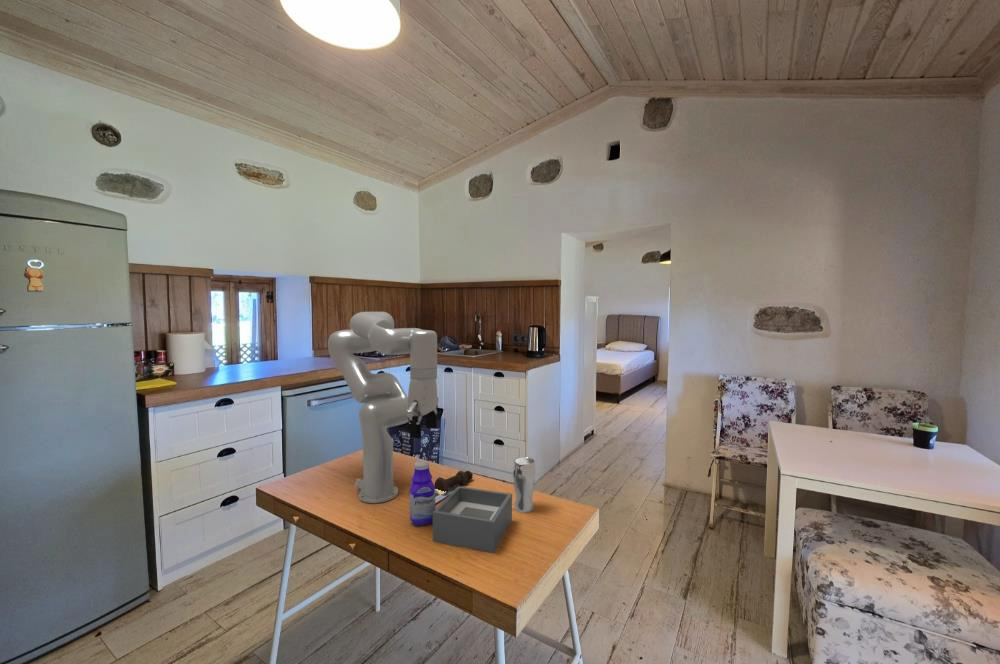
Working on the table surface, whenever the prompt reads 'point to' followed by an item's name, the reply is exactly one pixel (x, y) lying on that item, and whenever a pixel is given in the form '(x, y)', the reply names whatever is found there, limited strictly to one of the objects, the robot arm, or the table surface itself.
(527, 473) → the beer glass
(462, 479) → the bolt
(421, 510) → the bottle
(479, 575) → the table surface
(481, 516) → the bore box
